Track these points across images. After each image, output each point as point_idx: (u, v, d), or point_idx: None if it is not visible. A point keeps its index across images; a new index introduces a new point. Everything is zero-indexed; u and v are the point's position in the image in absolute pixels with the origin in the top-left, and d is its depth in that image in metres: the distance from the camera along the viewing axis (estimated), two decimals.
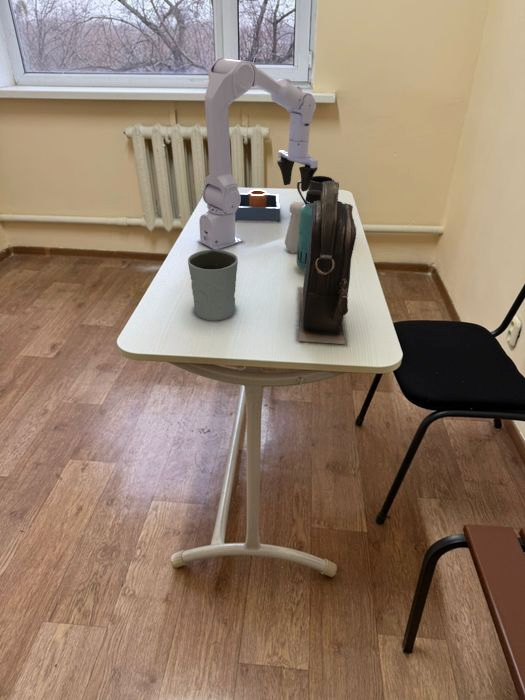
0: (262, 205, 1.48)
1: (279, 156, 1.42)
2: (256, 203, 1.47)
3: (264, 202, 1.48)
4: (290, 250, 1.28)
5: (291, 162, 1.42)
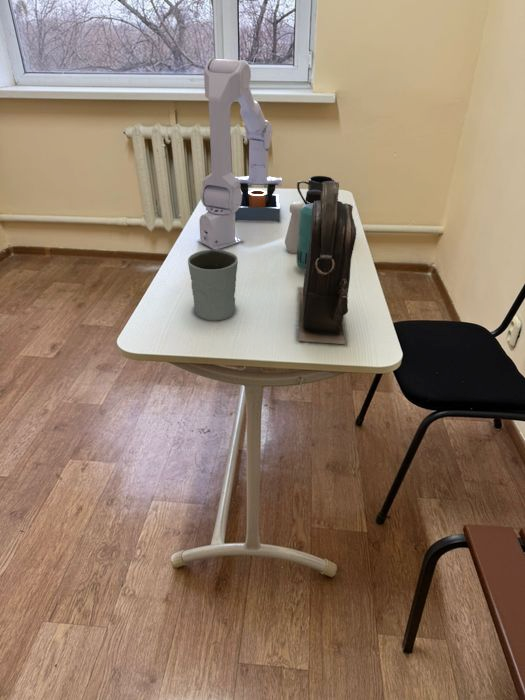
0: (262, 205, 1.48)
1: None
2: (256, 203, 1.47)
3: (264, 202, 1.48)
4: (290, 250, 1.28)
5: None
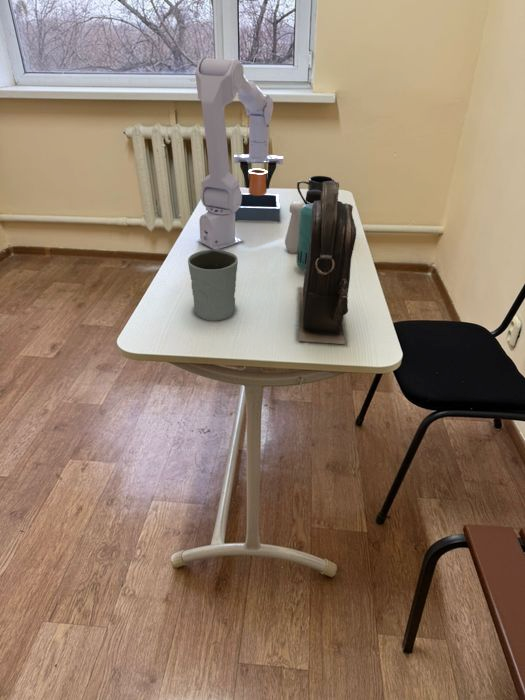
0: (262, 184, 1.44)
1: (236, 161, 1.41)
2: (256, 182, 1.43)
3: (264, 181, 1.44)
4: (290, 250, 1.28)
5: (248, 164, 1.44)
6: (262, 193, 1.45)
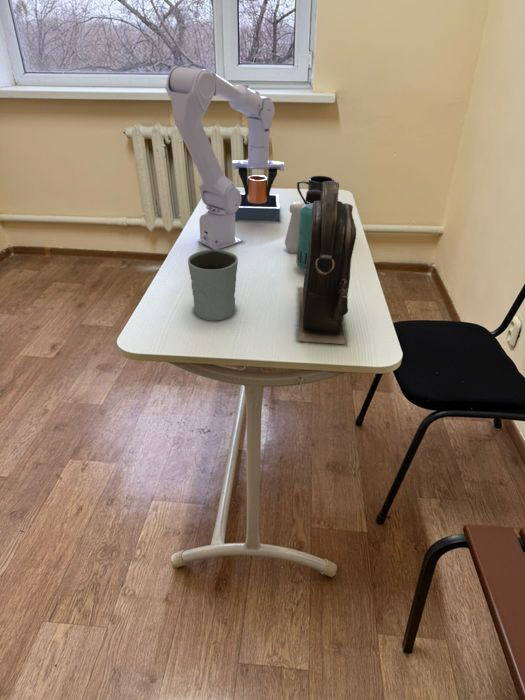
0: (262, 192, 1.35)
1: (234, 167, 1.32)
2: (256, 189, 1.34)
3: (265, 188, 1.35)
4: (290, 250, 1.28)
5: (247, 171, 1.35)
6: (262, 201, 1.36)
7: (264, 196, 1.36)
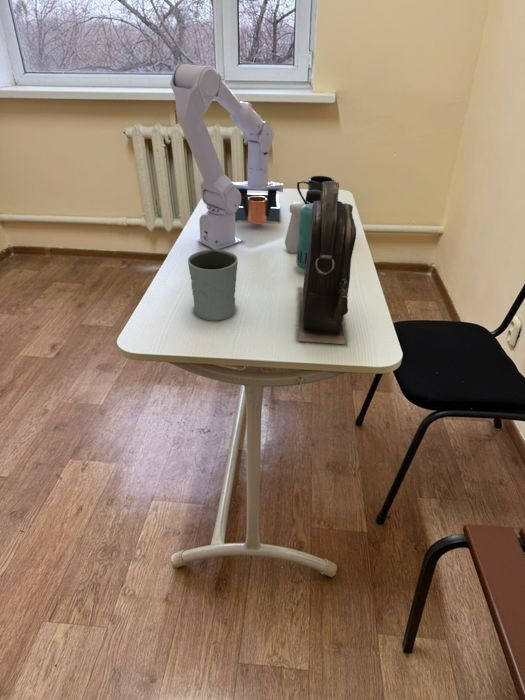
0: (262, 212, 1.37)
1: None
2: (255, 210, 1.36)
3: (264, 209, 1.37)
4: (290, 250, 1.28)
5: None
6: (262, 221, 1.39)
7: (264, 216, 1.38)
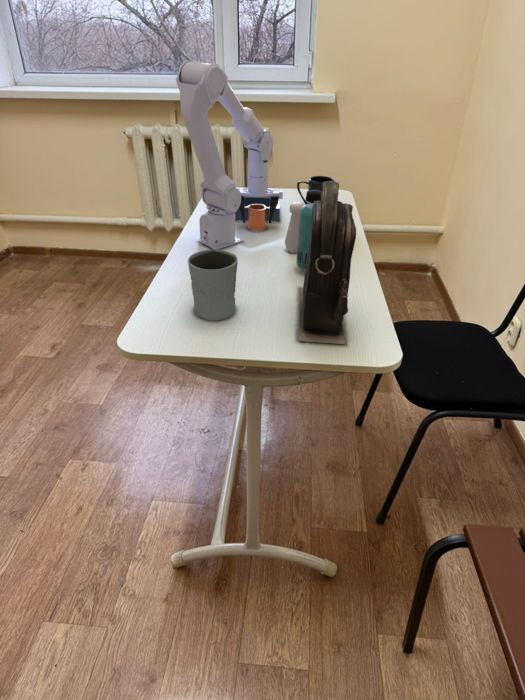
0: (262, 220, 1.39)
1: None
2: (255, 218, 1.38)
3: (264, 217, 1.39)
4: (290, 250, 1.28)
5: (244, 198, 1.38)
6: (261, 229, 1.40)
7: (263, 224, 1.40)
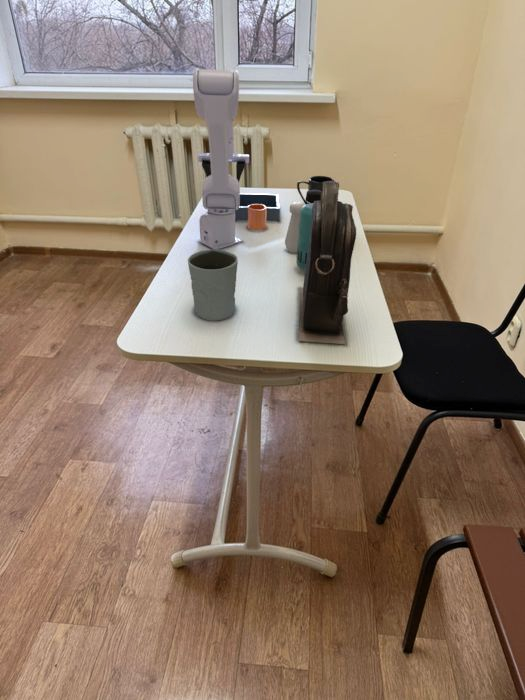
0: (262, 220, 1.39)
1: (200, 160, 1.35)
2: (255, 218, 1.38)
3: (264, 217, 1.39)
4: (290, 250, 1.28)
5: None
6: (261, 229, 1.40)
7: (263, 224, 1.40)
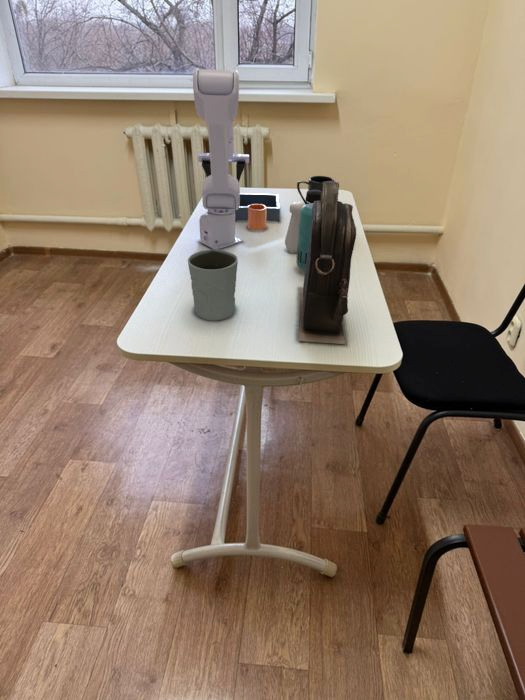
0: (262, 220, 1.39)
1: (200, 160, 1.35)
2: (255, 218, 1.38)
3: (264, 217, 1.39)
4: (290, 250, 1.28)
5: None
6: (261, 229, 1.40)
7: (263, 224, 1.40)
